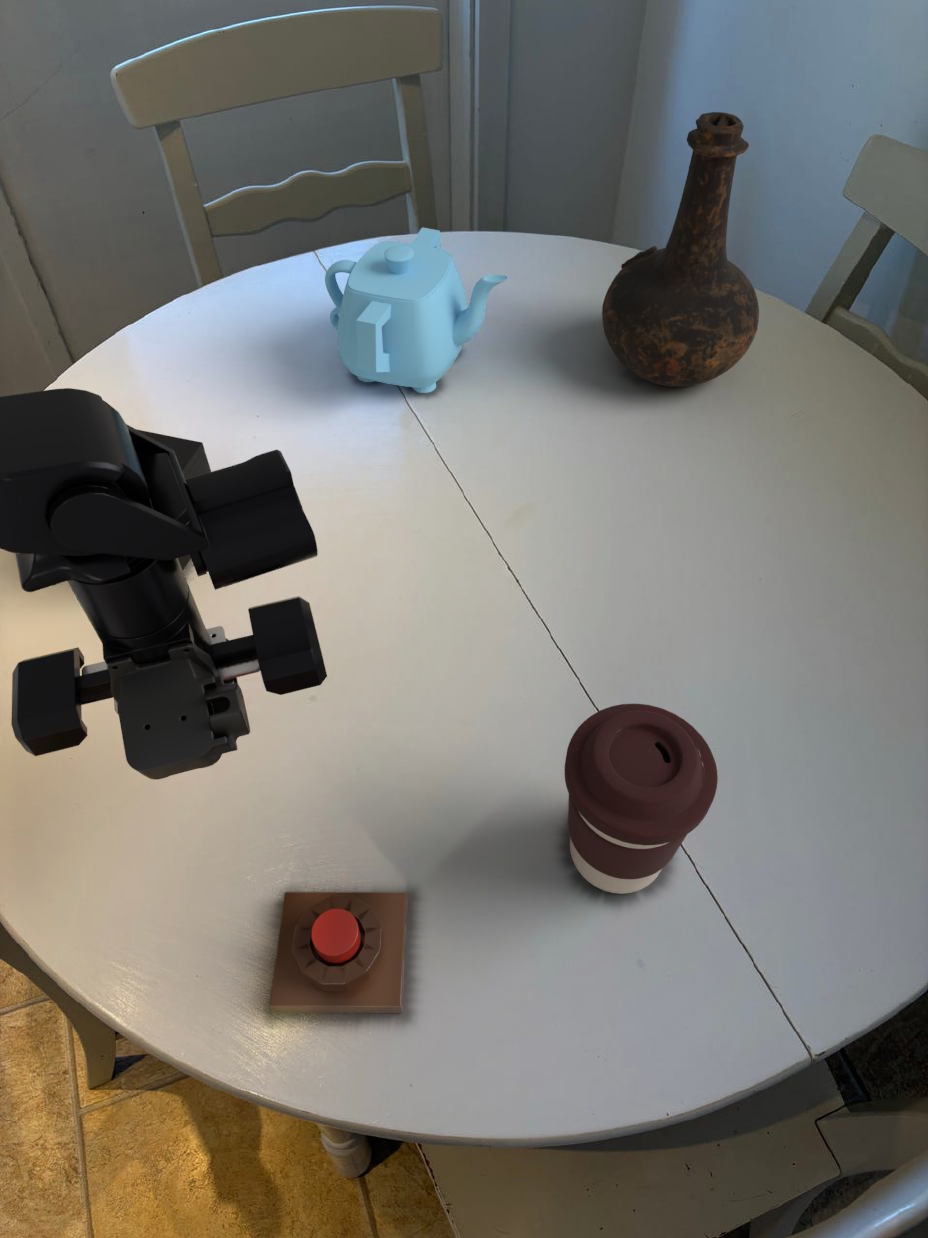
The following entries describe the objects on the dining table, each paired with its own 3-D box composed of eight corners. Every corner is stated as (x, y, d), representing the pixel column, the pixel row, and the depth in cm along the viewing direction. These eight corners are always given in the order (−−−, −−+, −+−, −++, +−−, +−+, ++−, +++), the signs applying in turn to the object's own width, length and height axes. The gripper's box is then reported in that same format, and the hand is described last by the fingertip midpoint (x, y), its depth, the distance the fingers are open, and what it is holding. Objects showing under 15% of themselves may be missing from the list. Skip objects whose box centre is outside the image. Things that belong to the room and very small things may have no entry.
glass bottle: (666, 303, 115) (711, 64, 93) (775, 368, 107) (854, 121, 85) (565, 356, 108) (588, 111, 86) (673, 429, 100) (730, 178, 78)
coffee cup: (541, 896, 67) (555, 805, 55) (563, 781, 73) (580, 677, 61) (674, 927, 65) (718, 840, 53) (686, 807, 71) (727, 705, 59)
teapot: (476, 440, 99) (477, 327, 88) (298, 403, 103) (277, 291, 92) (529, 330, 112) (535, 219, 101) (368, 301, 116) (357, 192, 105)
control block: (273, 1013, 62) (263, 998, 59) (288, 900, 67) (280, 882, 64) (402, 1013, 62) (399, 999, 59) (407, 900, 67) (404, 882, 64)
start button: (312, 963, 61) (308, 955, 59) (317, 917, 63) (313, 908, 61) (359, 964, 61) (356, 955, 59) (362, 917, 63) (360, 908, 61)
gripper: (-42, 761, 44) (71, 881, 57) (326, 670, 47) (358, 803, 60) (-32, 596, 51) (68, 736, 63) (291, 526, 54) (325, 672, 66)
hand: (204, 739), depth 63 cm, fingers closed
